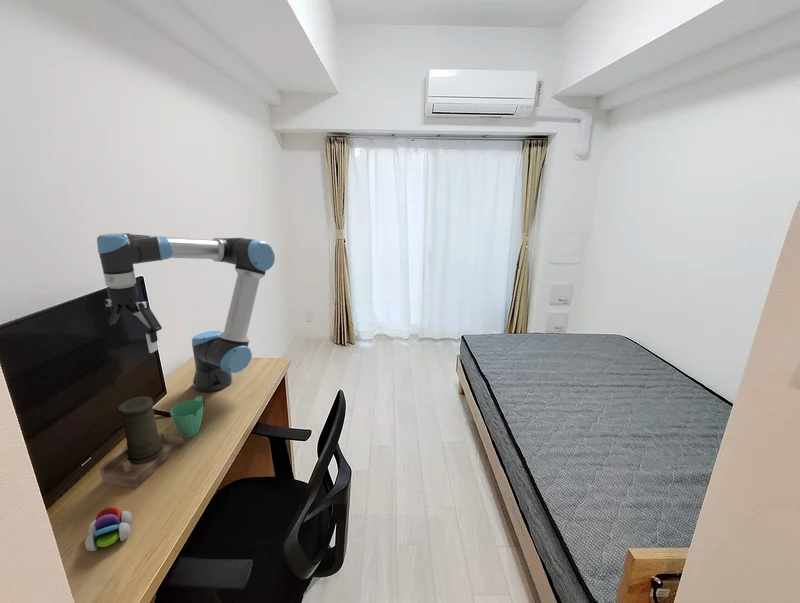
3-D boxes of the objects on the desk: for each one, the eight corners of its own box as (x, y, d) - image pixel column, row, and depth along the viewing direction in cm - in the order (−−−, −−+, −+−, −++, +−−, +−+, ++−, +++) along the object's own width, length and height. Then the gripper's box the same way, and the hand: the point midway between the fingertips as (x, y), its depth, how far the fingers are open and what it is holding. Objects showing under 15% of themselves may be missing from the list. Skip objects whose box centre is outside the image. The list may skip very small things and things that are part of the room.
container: (170, 448, 119) (161, 398, 114) (144, 467, 111) (133, 414, 106) (147, 442, 122) (138, 393, 116) (120, 461, 113) (109, 408, 108)
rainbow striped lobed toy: (134, 515, 99) (128, 492, 97) (129, 544, 91) (124, 521, 89) (93, 528, 95) (87, 505, 93) (85, 560, 87) (78, 535, 85)
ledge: (154, 440, 127) (151, 425, 125) (183, 445, 126) (181, 429, 124) (103, 482, 109) (98, 465, 107) (136, 488, 108) (133, 470, 106)
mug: (198, 442, 127) (194, 416, 124) (168, 442, 127) (163, 416, 124) (217, 416, 141) (214, 393, 138) (190, 416, 141) (186, 392, 138)
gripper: (74, 286, 114) (89, 350, 120) (148, 291, 110) (160, 357, 116) (96, 280, 121) (110, 341, 127) (167, 285, 117) (178, 347, 124)
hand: (134, 349), depth 122 cm, fingers open, 13 cm apart
